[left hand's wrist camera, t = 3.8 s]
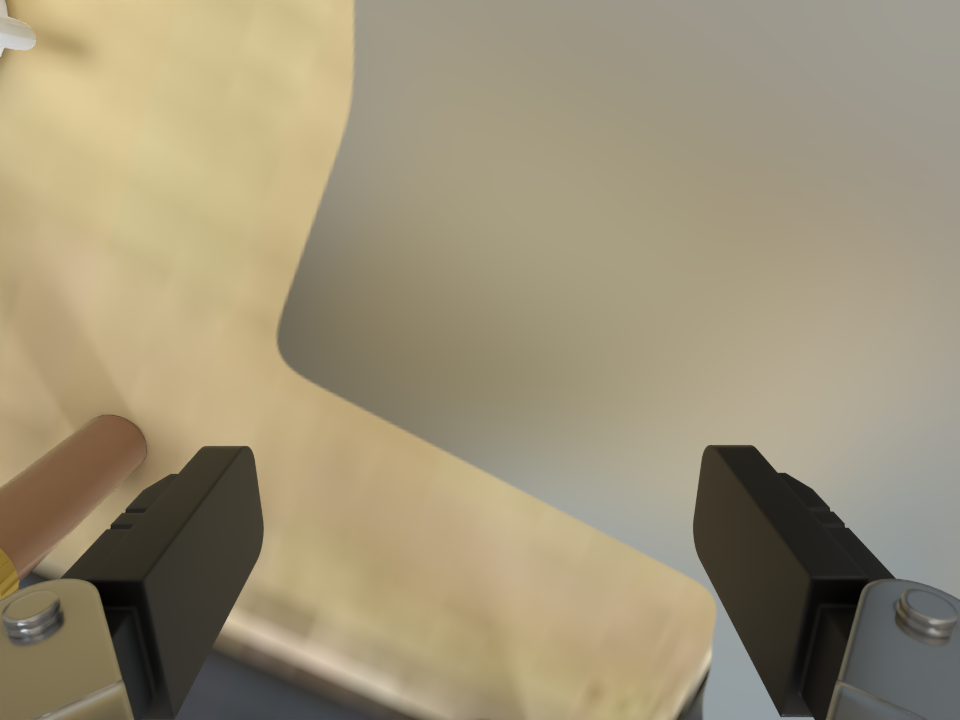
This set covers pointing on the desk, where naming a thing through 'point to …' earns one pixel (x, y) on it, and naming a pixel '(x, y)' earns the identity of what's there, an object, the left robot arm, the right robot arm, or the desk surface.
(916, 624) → the left robot arm
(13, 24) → the mug
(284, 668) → the desk surface
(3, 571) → the lid
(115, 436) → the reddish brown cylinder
